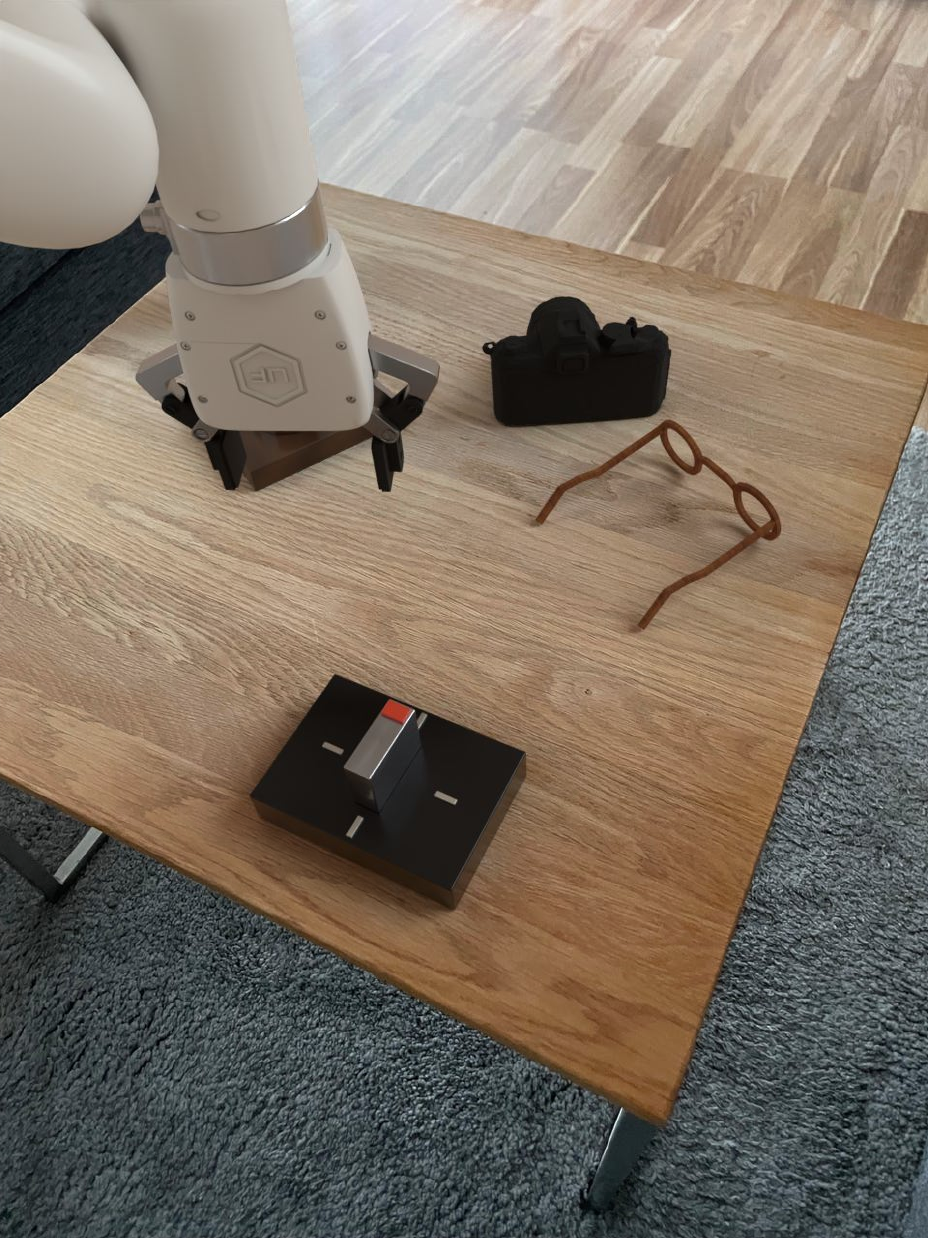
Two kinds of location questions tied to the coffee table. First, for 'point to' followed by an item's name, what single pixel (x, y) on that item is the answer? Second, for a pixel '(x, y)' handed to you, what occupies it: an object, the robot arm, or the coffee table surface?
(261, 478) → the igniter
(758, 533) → the glasses
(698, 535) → the coffee table surface
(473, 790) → the black square plate
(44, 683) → the coffee table surface
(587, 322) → the film camera
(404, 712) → the hob knob
